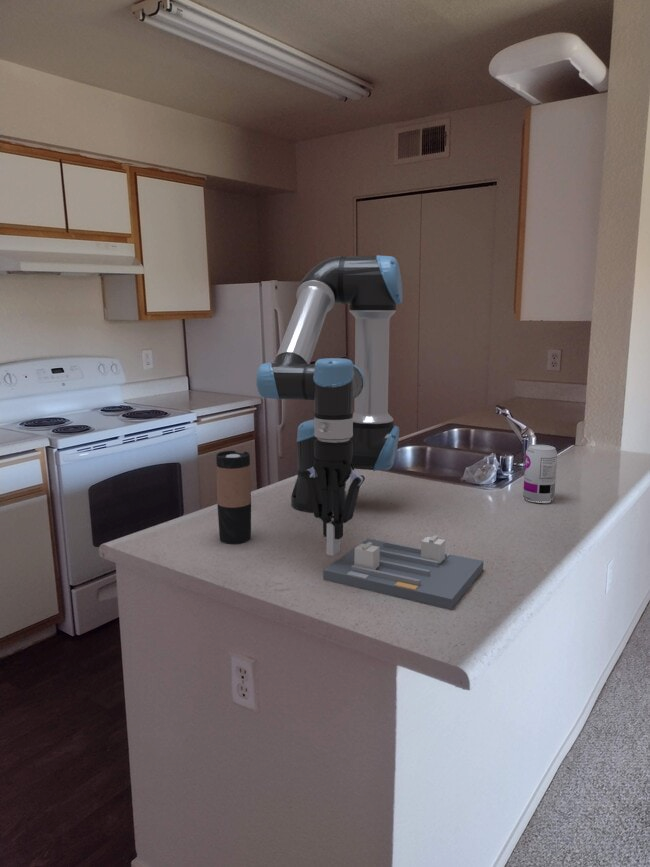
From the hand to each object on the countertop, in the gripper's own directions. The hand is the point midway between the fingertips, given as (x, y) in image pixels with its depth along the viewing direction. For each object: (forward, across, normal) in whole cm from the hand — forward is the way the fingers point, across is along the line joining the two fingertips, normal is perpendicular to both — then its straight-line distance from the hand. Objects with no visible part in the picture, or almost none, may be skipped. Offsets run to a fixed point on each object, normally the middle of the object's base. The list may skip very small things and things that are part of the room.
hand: (333, 552), depth 130 cm
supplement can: (+4, +26, +70) cm, 75 cm away
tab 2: (+1, +18, +10) cm, 20 cm away
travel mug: (+4, -28, +5) cm, 29 cm away
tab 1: (+1, +8, 0) cm, 8 cm away
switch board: (+4, +14, +5) cm, 15 cm away
